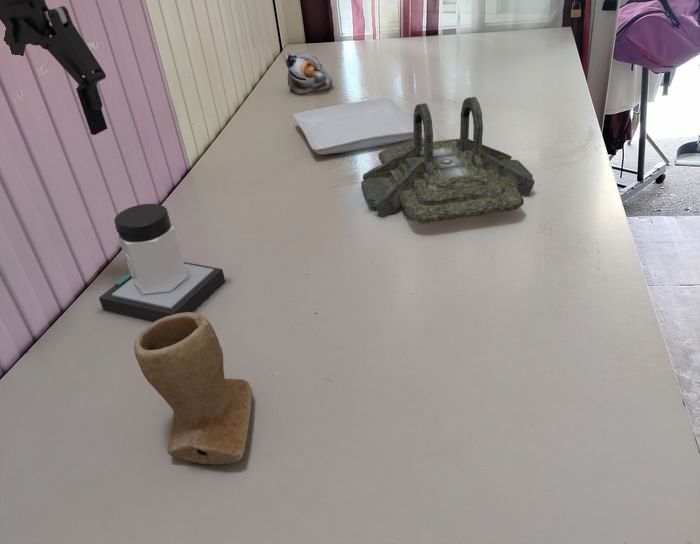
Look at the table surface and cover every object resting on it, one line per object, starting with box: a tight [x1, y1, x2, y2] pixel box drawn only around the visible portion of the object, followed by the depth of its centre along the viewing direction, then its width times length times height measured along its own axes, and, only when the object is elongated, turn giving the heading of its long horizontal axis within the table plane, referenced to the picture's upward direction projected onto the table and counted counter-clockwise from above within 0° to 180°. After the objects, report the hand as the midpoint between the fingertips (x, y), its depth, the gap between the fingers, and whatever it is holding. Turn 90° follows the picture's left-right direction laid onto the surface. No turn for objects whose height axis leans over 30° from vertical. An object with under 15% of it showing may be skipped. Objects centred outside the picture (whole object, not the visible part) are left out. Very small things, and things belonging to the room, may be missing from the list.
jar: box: [113, 203, 187, 294], centre depth 102 cm, size 9×8×12 cm
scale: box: [98, 261, 226, 323], centre depth 106 cm, size 15×14×3 cm
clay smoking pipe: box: [133, 311, 253, 465], centre depth 77 cm, size 15×12×15 cm
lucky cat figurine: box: [283, 52, 333, 95], centre depth 189 cm, size 15×12×14 cm
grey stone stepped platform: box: [360, 96, 535, 225], centre depth 125 cm, size 35×34×18 cm
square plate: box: [291, 97, 424, 155], centre depth 159 cm, size 27×27×4 cm
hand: (65, 128), depth 96 cm, fingers open, 13 cm apart
